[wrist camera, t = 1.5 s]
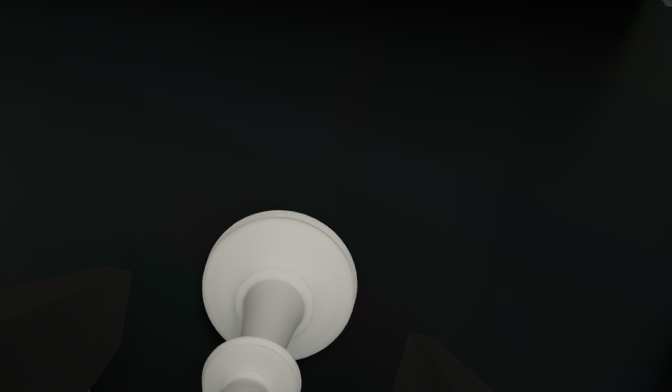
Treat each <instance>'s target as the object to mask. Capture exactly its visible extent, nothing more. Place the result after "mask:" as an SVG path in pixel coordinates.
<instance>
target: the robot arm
mask: <svg viewBox="0 0 672 392" xmlns="http://www.w3.org/2000/svg"><path fill="white" fill-rule="evenodd" d="M131 275H132V271H130V270H126V269H121V268H117V267H112V266H100V267H94V268H90V269H85V270H81V271H77V272H73V273H69V274H65V275H61V276H57V277H53V278H49V279H45V280H41V281H37V282H32V283H28V284H23V285H19V286H14V287H9V288H5V289H0V392H88V390H89V389H90V388H91V387H92V386H93V384H94V383H95V382H96V381H97V380H98V378H99V377H100V376H101V374H102V373H103V371H104V370H105V368H106V367H107V365H108V364H109V362H110V361H111V359H112V357H113V356H114V354H115V352H116V351H117V349H118V347H119V346H120V344H121V339H122V333H123V326H124V320H125V313H126V307H127V300H128V294H129V288H130V281H131ZM392 392H494V391H492V390H491V389H490V388H489V387H488V386H486V385H485V384H484V383H483V382H482V381H481V380H480V379H479V378H477V377H476V376H475V375H474V374H473V373H472V372H471V371H470V370H469V369H468V368H467V367H466V366H465V365H463V364H462V363H461V362H460V361H459V360H458V359H457V358H456V357H455V356H454V355H453V354H452V353H451V352H450V351H449V350H448V349H446V348H445V347H444V346H443V345H442V344H441V343H440V342H438V341H437V340H436V339H434V338H433V337H429V336H424V335H420V334H415V333H411V332H410V333H409V336H408V339H407V343H406V346H405V350H404V353H403V357H402V360H401V363H400V367H399V370H398V374H397V377H396V381H395V384H394V388H393V391H392Z"/></svg>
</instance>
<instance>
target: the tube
mask: <svg viewBox="0 0 672 392" xmlns="http://www.w3.org/2000/svg"><path fill="white" fill-rule="evenodd" d="M663 2H664V3H665V5H666V6H672V0H663Z"/></svg>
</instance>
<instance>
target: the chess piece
mask: <svg viewBox="0 0 672 392" xmlns="http://www.w3.org/2000/svg"><path fill="white" fill-rule="evenodd" d="M202 293H203V301H204V305H205V308H206V311H207V314H208V316H209V318H210V320H211V322H212V324H213V325H214V327H215V328H216V330H217V331H218V332H219V333H220V335H221V336H222V337H223V338H224V339H225V340H226V342H224V343H223V344H221V345H220V346H218V347H217V348H216V349H215V350H214V351H213V352H212V353H211V354H210V356H209V357H208V359H207V361H206V363H205V365H204V368H203V372H202V390H203V392H300V390H301V375H300V371H299V368H298V365H297V363H296V361H295V360H297V359H301V358H305V357H308V356H310V355H313V354H315V353H317V352H319V351H320V350H322V349H324V348H325V347H326V346H328V345H329V344H330V343H331V342H333V341H334V340H335V339H336V338H337V336H338V335H339V334H340V333H341V332H342V330H343V329H344V327H345V326H346V324H347V322H348V320H349V318H350V315H351V313H352V310H353V306H354V303H355V299H356V293H357V276H356V270H355V266H354V262H353V260H352V257H351V255H350V253H349V251H348V249H347V247H346V246H345V244H344V243H343V242H342V240H341V239H340V238H339V237H338V236H337V235H336V234H335V233H334V232H333V231H332V230H331V229H330V228H329V227H327V226H326V225H325V224H323V223H321V222H320V221H318V220H316V219H314V218H312V217H310V216H307V215H304V214H301V213H297V212H292V211H282V210H276V211H266V212H261V213H257V214H254V215H251V216H248V217H246V218H244V219H242V220H240V221H238V222H237V223H235V224H234V225H232V226H231V227H230V228H229V229H228V230H226V231H225V232H224V233H223V234H222V236H221V237H220V238H219V239H218V241H217V242H216V243H215V245H214V247H213V249H212V250H211V253H210V255H209V257H208V260H207V264H206V267H205V270H204V274H203V281H202Z"/></svg>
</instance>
